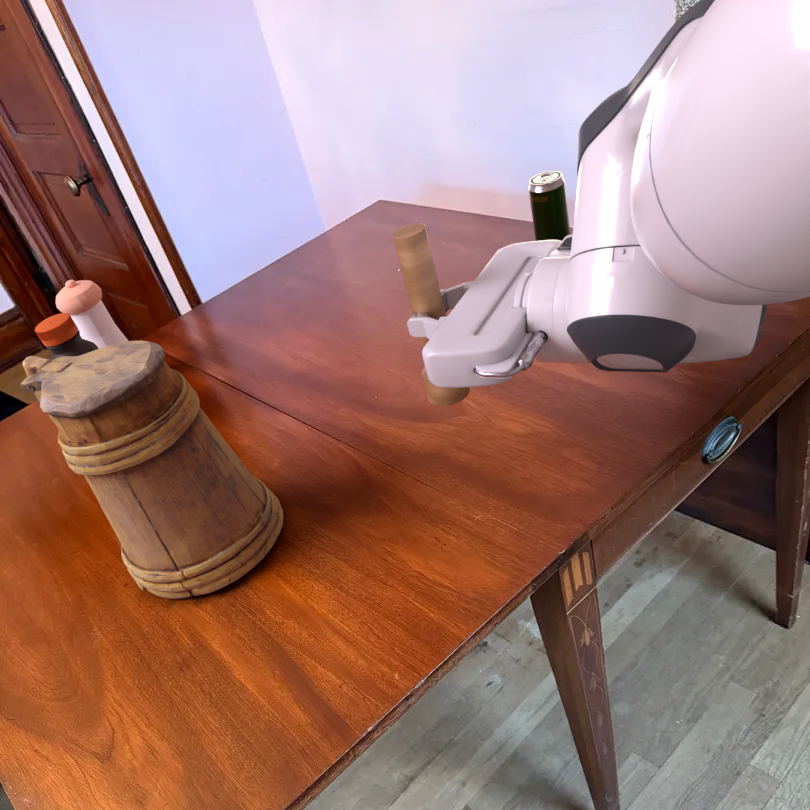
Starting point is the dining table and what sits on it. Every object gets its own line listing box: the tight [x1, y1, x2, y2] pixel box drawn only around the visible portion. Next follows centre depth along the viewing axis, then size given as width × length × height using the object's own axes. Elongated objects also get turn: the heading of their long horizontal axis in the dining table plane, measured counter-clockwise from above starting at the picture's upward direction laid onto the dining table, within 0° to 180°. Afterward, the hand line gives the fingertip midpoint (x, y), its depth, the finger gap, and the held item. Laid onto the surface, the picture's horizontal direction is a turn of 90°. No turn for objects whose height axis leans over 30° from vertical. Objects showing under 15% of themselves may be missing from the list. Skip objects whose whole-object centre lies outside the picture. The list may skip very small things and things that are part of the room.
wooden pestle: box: [392, 222, 471, 407], centre depth 71 cm, size 4×4×17 cm
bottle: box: [34, 312, 99, 360], centre depth 105 cm, size 7×7×20 cm
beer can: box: [528, 170, 571, 241], centre depth 115 cm, size 5×5×12 cm
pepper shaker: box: [55, 279, 129, 349], centre depth 118 cm, size 7×7×19 cm
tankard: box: [20, 340, 285, 600], centre depth 81 cm, size 18×24×25 cm
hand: (420, 312), depth 71 cm, fingers closed on wooden pestle, 3 cm apart
